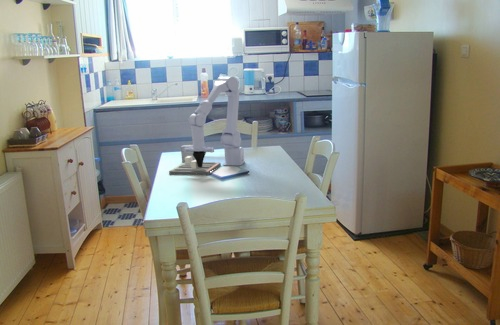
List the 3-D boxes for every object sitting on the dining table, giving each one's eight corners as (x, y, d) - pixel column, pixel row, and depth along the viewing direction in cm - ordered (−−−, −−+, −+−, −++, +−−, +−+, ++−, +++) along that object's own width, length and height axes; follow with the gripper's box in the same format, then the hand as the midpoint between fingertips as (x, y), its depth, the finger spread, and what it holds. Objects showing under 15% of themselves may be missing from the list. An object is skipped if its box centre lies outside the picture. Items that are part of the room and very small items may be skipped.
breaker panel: (220, 165, 232) (220, 161, 232) (208, 175, 215) (207, 170, 215) (184, 165, 238) (183, 160, 237) (169, 174, 221) (168, 169, 220)
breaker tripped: (199, 167, 223) (198, 159, 222) (196, 169, 220) (195, 161, 219) (194, 167, 224) (194, 159, 223) (191, 169, 220) (190, 161, 219)
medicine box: (198, 160, 247) (197, 144, 245) (196, 162, 242) (195, 146, 240) (184, 160, 248) (182, 145, 246) (182, 162, 243) (180, 146, 241)
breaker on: (192, 163, 233) (192, 156, 232) (189, 165, 229) (189, 157, 228) (188, 163, 233) (187, 155, 232) (185, 165, 230) (184, 157, 229)
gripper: (180, 140, 216) (183, 168, 219) (209, 140, 212) (211, 169, 215) (186, 137, 222) (188, 164, 226) (214, 137, 219) (216, 165, 222)
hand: (200, 166), depth 221 cm, fingers closed
